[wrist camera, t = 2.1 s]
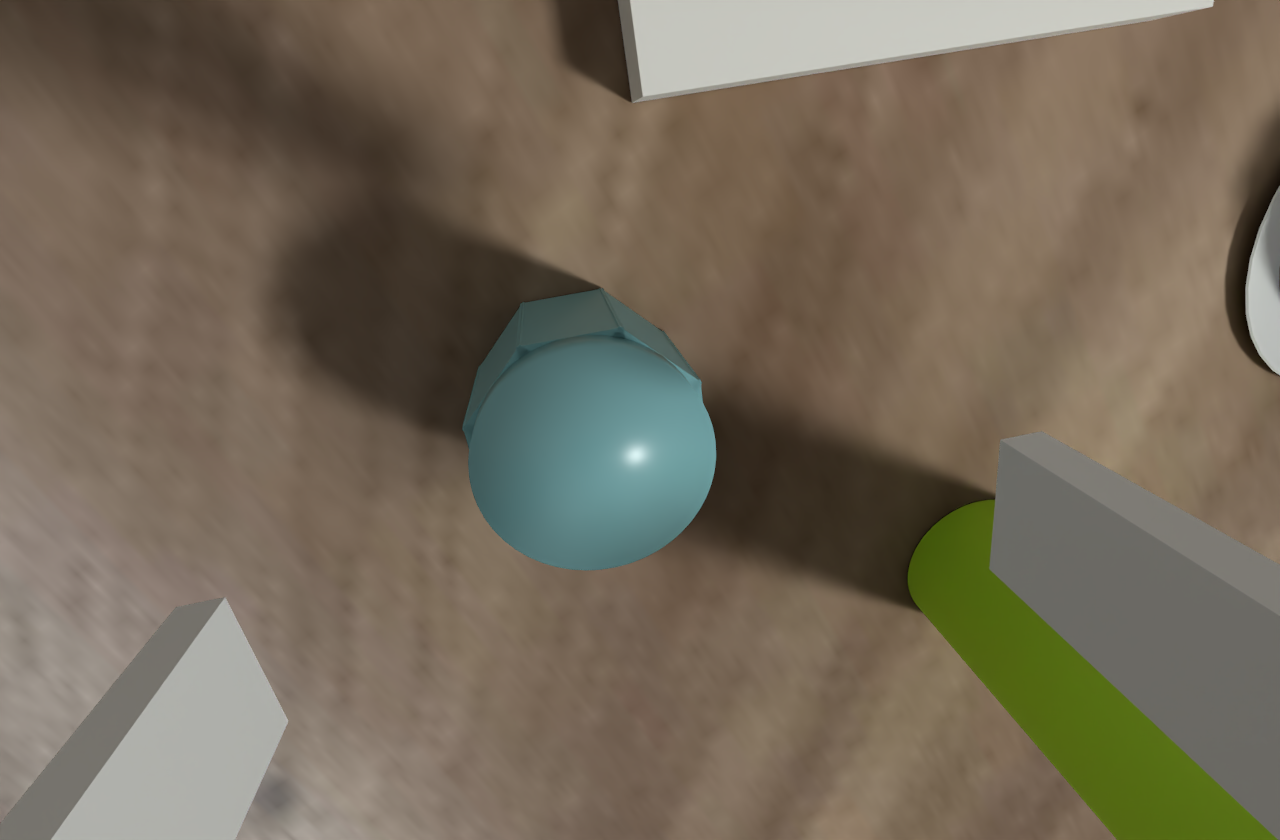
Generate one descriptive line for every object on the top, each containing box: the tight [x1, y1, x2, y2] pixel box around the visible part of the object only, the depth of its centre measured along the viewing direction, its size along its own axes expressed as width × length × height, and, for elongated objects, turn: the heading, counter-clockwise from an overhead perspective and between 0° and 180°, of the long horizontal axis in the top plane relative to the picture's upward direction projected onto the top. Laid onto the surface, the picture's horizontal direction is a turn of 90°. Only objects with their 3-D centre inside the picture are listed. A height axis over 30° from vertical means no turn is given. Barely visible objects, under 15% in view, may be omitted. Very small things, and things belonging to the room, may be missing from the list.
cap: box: [462, 288, 716, 570], centre depth 18 cm, size 6×6×6 cm
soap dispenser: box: [908, 500, 1278, 840], centre depth 17 cm, size 6×7×20 cm
